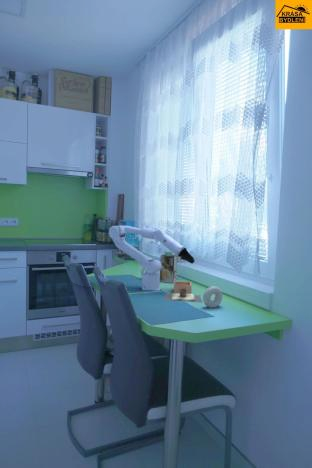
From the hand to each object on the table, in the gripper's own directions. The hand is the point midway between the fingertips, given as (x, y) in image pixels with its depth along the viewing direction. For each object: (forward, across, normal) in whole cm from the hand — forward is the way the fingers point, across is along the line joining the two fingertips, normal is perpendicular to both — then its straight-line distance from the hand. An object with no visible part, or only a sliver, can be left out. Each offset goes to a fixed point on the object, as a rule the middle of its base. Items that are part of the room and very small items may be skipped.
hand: (193, 261), depth 174 cm
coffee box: (-8, +31, +17) cm, 36 cm away
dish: (+5, +7, +16) cm, 18 cm away
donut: (+22, -16, +13) cm, 30 cm away
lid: (+8, -6, +18) cm, 20 cm away
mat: (+8, -5, +18) cm, 21 cm away
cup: (-19, +33, +24) cm, 45 cm away
